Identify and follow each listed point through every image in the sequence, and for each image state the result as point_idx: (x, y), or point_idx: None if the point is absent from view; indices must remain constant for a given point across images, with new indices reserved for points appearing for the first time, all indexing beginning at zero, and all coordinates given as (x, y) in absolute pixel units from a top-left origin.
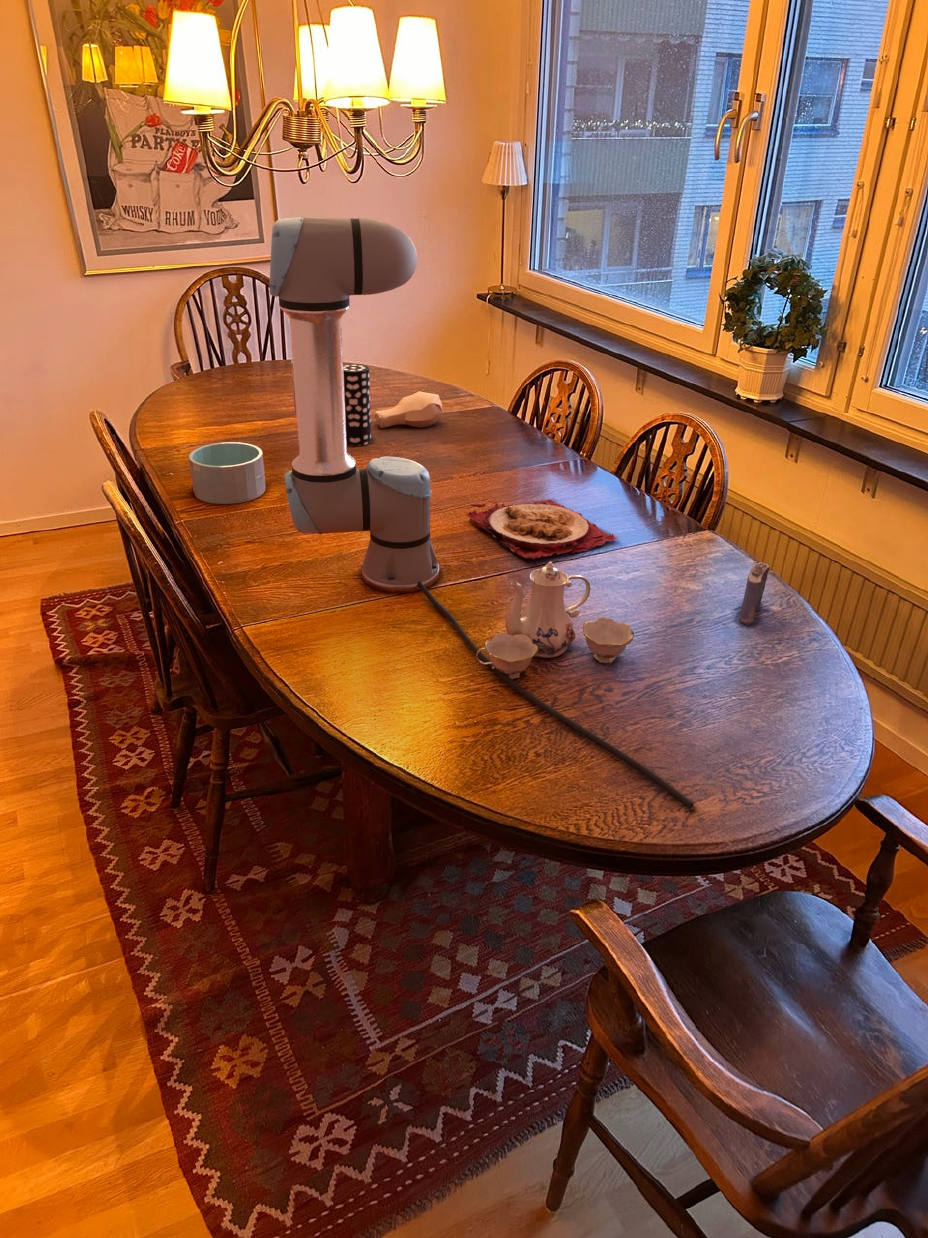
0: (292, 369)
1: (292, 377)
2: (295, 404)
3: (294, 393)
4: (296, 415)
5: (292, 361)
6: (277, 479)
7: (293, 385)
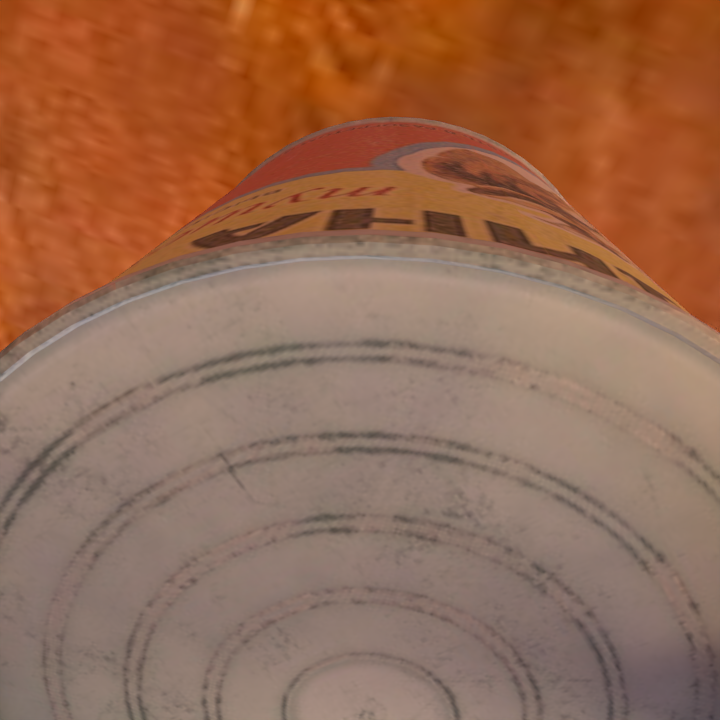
0: (404, 209)
1: (462, 185)
2: (388, 131)
3: (395, 146)
4: (374, 118)
5: (571, 313)
6: (578, 8)
7: (417, 161)
